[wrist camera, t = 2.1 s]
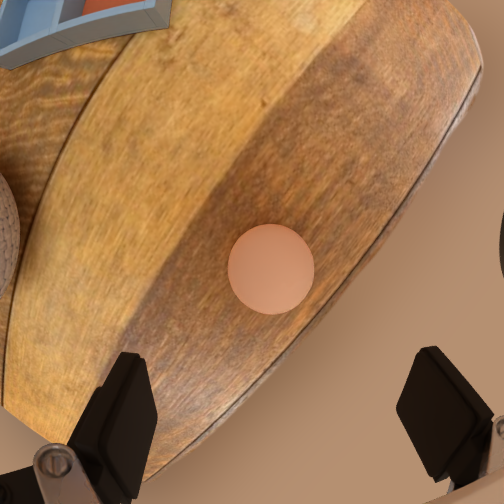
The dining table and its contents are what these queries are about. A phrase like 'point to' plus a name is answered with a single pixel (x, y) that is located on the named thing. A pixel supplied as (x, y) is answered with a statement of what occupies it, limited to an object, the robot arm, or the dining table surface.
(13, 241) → the decorative ball
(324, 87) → the dining table surface
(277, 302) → the egg
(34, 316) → the dining table surface
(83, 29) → the grid
